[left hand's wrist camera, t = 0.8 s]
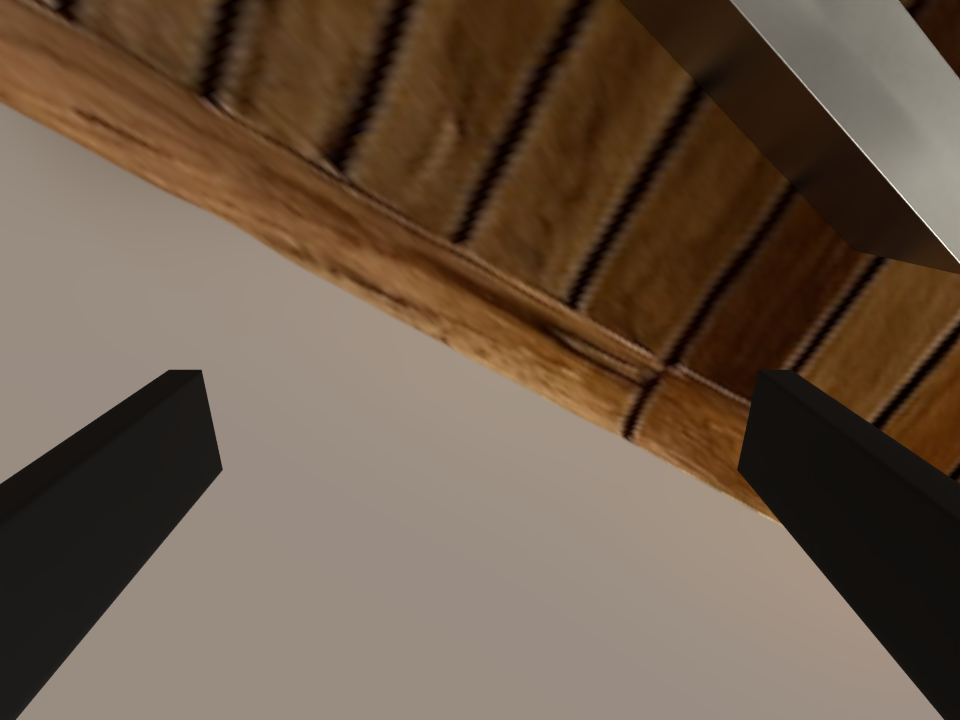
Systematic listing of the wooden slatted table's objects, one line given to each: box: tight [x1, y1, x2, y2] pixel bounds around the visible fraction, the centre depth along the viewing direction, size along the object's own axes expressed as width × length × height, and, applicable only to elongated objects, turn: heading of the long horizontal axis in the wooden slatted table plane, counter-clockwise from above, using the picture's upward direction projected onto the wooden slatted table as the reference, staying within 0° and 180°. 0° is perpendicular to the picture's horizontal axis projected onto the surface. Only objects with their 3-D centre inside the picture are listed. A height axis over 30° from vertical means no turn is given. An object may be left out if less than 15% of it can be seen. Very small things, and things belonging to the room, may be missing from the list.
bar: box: [620, 0, 960, 274], centre depth 27 cm, size 24×5×9 cm, turn 50°
